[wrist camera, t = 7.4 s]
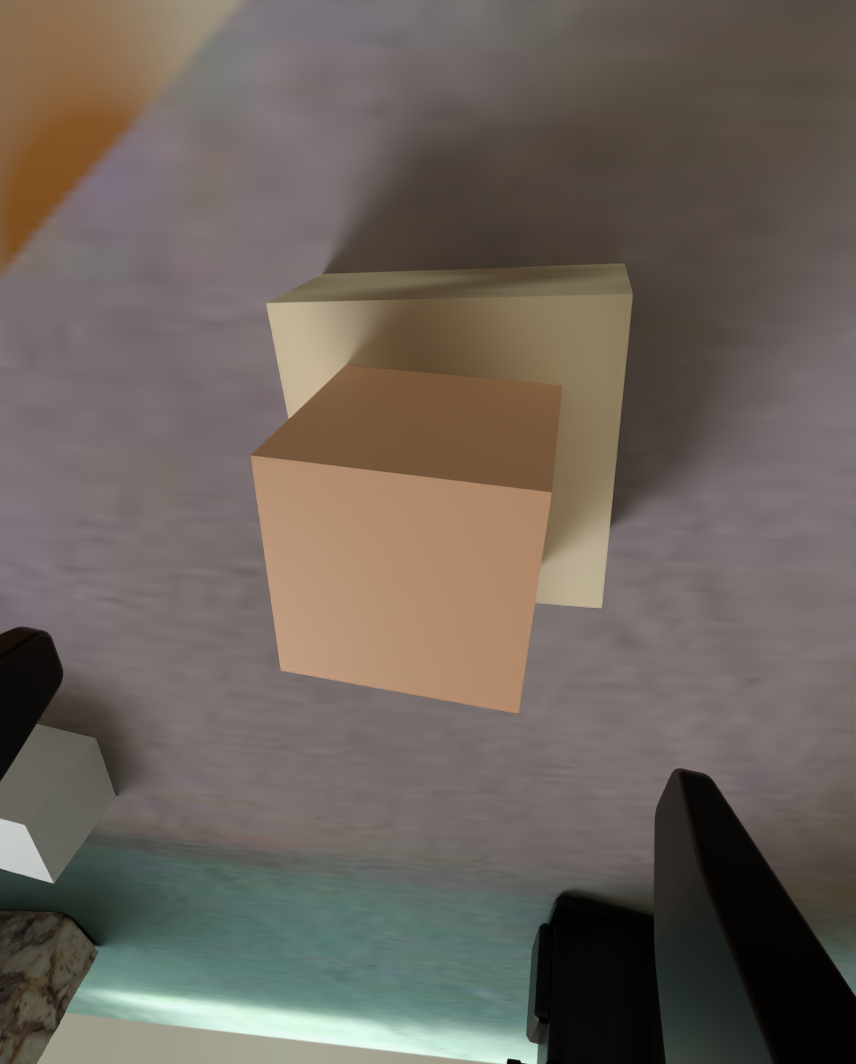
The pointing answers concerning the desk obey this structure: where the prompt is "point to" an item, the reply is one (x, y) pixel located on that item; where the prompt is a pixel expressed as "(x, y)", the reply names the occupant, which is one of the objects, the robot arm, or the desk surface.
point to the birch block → (489, 370)
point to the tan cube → (410, 531)
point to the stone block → (37, 979)
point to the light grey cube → (51, 802)
